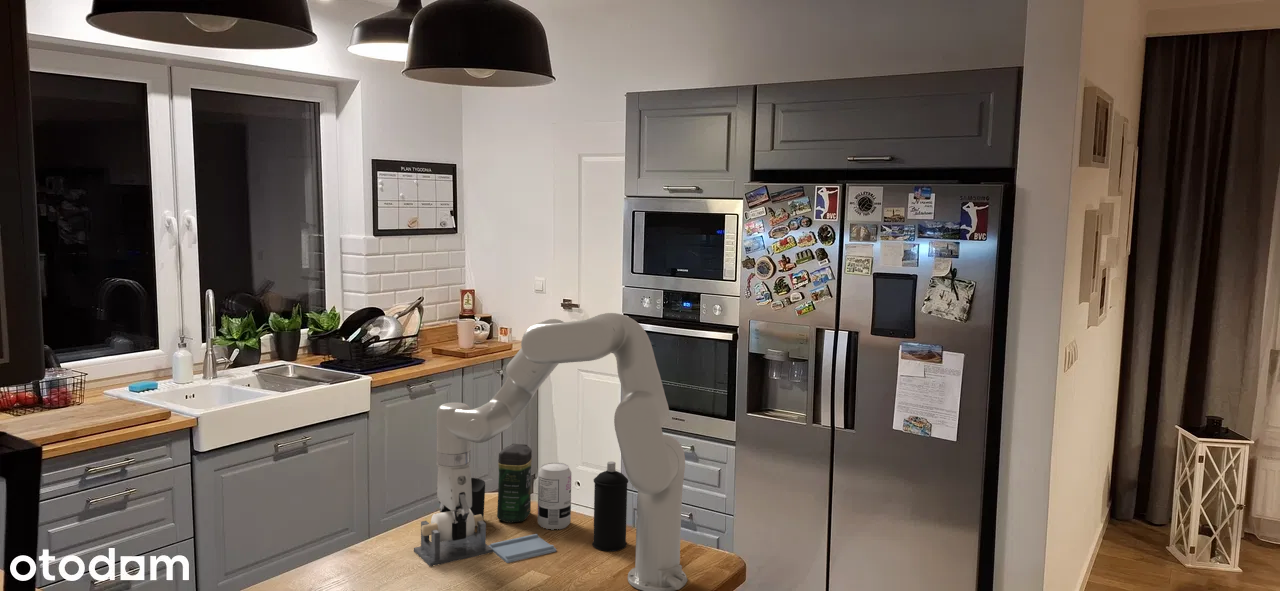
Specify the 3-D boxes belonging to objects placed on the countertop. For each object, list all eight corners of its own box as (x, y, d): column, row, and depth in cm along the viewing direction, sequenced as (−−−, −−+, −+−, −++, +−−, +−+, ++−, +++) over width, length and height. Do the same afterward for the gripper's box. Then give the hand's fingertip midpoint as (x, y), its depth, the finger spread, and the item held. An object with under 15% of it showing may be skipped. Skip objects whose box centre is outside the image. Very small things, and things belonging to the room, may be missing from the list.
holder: (474, 538, 206) (474, 509, 205) (492, 552, 198) (492, 523, 197) (413, 551, 197) (413, 521, 197) (430, 566, 189) (430, 535, 188)
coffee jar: (524, 524, 215) (525, 452, 213) (493, 522, 216) (494, 450, 215) (534, 511, 225) (535, 442, 223) (505, 509, 226) (505, 440, 224)
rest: (536, 537, 207) (536, 532, 207) (556, 551, 199) (556, 546, 199) (487, 548, 200) (488, 542, 200) (506, 563, 192) (507, 557, 192)
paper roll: (475, 528, 204) (475, 502, 203) (486, 537, 199) (487, 510, 198) (418, 539, 196) (418, 512, 195) (428, 549, 191) (428, 521, 190)
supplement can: (533, 521, 218) (534, 463, 216) (564, 517, 221) (565, 460, 220) (543, 532, 210) (544, 473, 209) (575, 528, 214) (576, 469, 212)
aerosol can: (631, 549, 202) (634, 466, 200) (598, 553, 199) (600, 469, 197) (619, 536, 209) (621, 456, 207) (587, 540, 206) (589, 459, 204)
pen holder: (448, 515, 220) (449, 477, 219) (486, 515, 221) (486, 477, 220) (444, 529, 211) (444, 489, 210) (483, 528, 212) (484, 489, 211)
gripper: (484, 465, 190) (483, 543, 192) (454, 446, 204) (453, 519, 206) (452, 470, 186) (452, 550, 188) (423, 450, 200) (423, 524, 202)
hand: (452, 533), depth 197 cm, fingers closed on paper roll, 6 cm apart
